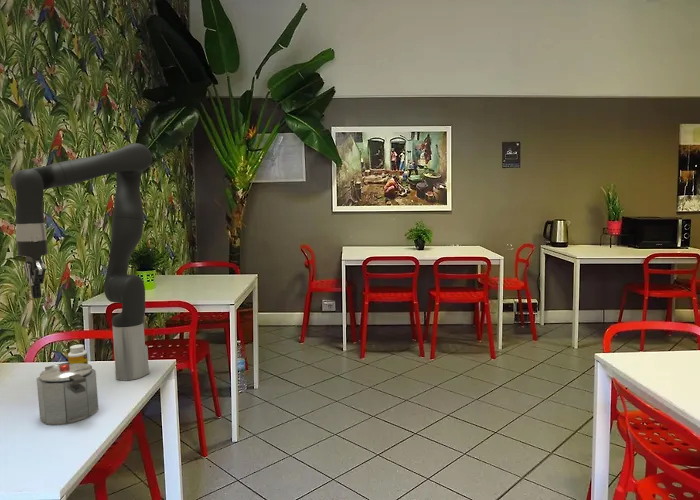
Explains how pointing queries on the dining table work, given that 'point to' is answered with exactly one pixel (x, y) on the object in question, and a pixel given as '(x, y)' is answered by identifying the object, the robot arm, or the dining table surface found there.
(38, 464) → the dining table surface
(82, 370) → the lid
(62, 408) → the pot
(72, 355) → the supplement bottle
